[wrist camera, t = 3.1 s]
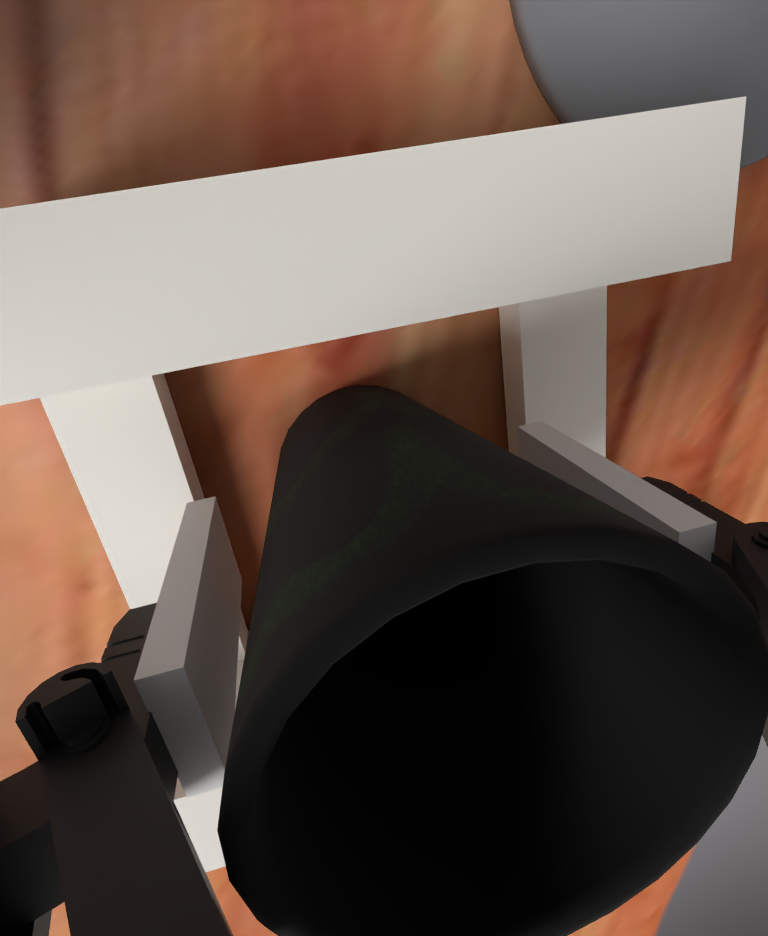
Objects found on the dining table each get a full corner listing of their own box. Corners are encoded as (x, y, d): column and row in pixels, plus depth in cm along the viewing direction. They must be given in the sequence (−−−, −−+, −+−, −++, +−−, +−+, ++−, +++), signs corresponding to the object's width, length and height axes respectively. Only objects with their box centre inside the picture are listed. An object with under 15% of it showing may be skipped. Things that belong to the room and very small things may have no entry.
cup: (341, 299, 16) (521, 392, 5) (513, 438, 19) (865, 691, 8) (197, 497, 17) (85, 921, 6) (379, 599, 20) (522, 1009, 9)
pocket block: (2, 244, 14) (-173, 234, 8) (577, 152, 16) (746, 96, 10) (194, 713, 20) (169, 884, 15) (583, 603, 22) (688, 715, 17)
